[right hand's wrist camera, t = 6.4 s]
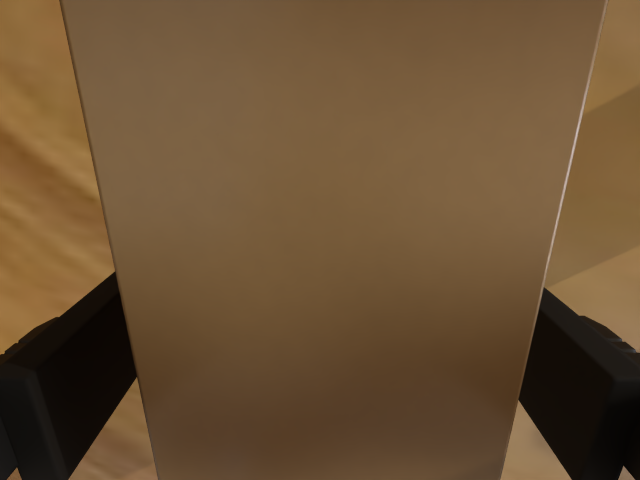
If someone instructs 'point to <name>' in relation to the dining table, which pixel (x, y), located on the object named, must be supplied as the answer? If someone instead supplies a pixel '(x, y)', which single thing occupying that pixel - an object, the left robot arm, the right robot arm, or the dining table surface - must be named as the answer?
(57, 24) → the dining table surface
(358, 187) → the box
